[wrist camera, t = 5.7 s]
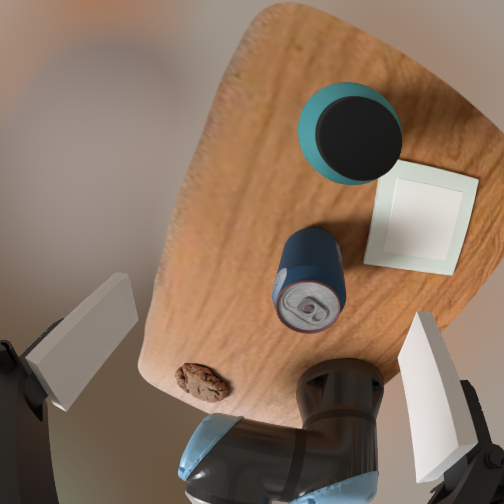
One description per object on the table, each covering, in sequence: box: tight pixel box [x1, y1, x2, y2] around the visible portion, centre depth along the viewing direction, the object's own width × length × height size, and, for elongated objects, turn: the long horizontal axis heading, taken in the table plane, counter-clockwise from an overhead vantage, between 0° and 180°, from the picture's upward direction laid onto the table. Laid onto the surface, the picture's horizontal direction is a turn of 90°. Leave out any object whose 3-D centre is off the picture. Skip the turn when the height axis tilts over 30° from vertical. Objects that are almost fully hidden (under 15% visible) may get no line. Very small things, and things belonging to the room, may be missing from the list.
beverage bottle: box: [298, 82, 402, 185], centre depth 20 cm, size 6×7×20 cm
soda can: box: [272, 228, 346, 334], centre depth 30 cm, size 7×7×12 cm
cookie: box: [175, 364, 228, 402], centre depth 51 cm, size 10×11×3 cm
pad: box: [363, 159, 478, 275], centre depth 30 cm, size 13×13×1 cm
